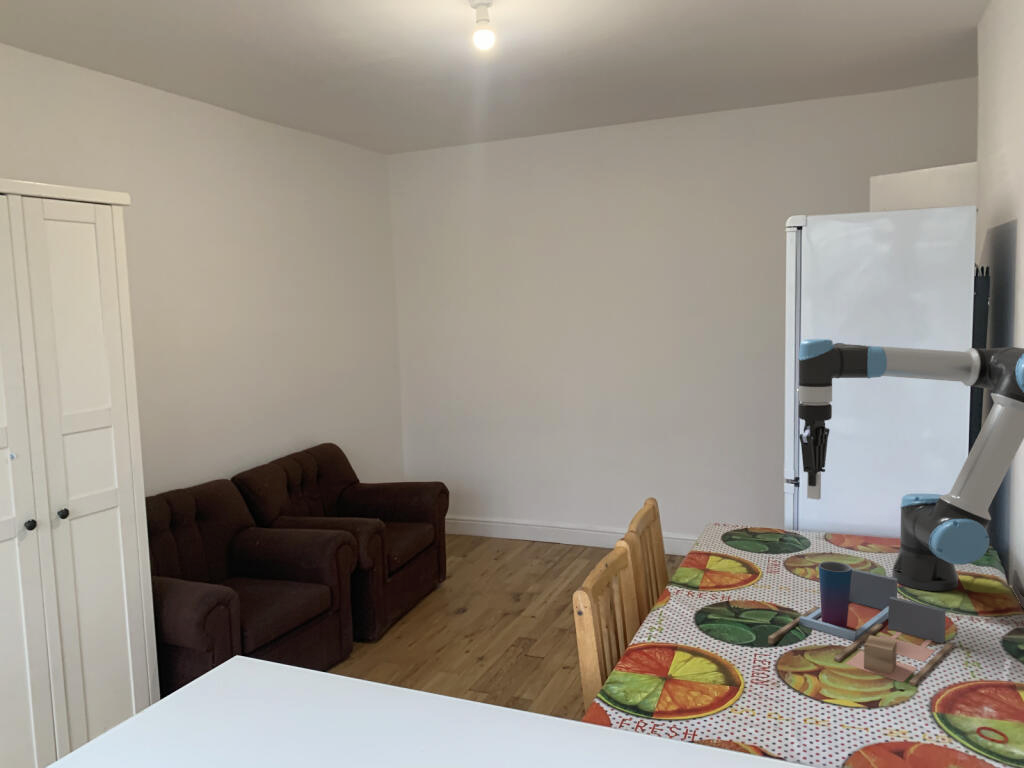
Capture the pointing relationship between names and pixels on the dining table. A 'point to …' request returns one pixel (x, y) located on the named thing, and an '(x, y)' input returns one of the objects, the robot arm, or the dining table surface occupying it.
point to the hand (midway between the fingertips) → (813, 498)
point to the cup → (835, 592)
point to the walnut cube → (880, 654)
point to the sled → (864, 592)
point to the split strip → (912, 622)
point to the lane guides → (859, 641)
